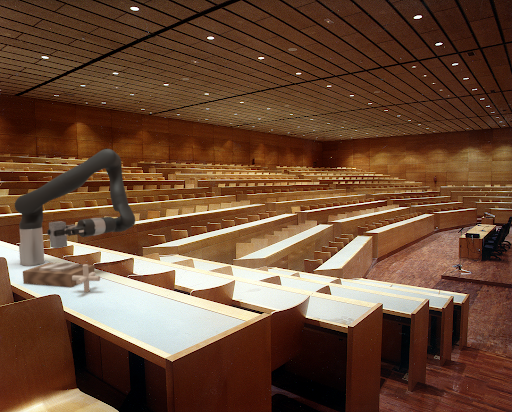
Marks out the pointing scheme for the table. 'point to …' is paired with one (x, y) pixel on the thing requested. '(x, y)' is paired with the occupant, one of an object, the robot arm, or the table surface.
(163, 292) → the table surface
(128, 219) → the robot arm
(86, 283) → the pipe connector
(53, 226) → the block
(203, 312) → the table surface
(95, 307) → the table surface
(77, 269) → the brown wooden block
